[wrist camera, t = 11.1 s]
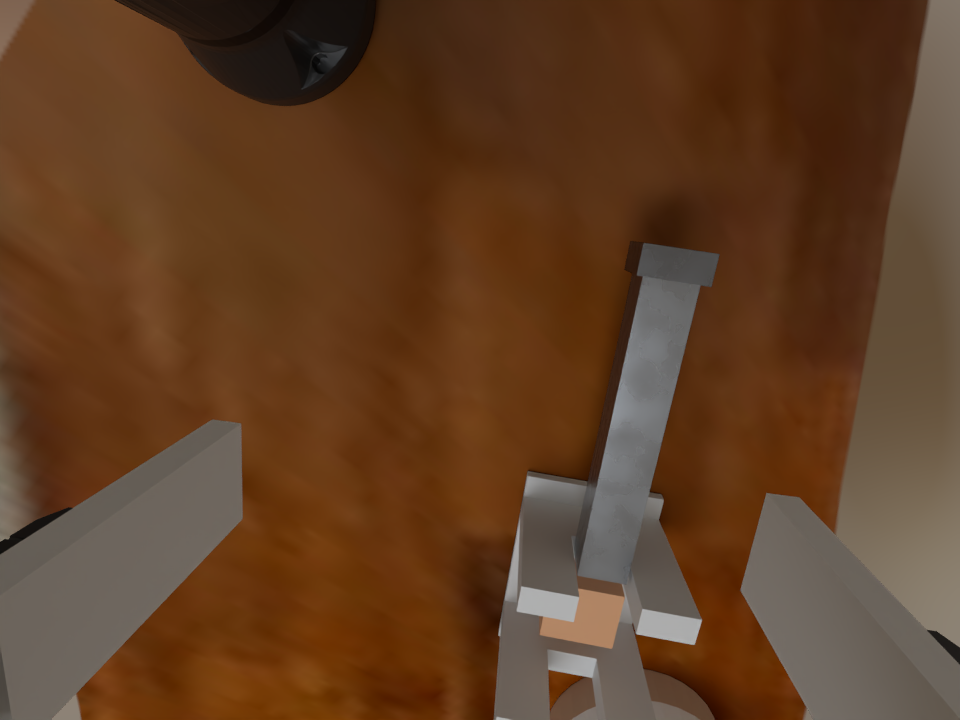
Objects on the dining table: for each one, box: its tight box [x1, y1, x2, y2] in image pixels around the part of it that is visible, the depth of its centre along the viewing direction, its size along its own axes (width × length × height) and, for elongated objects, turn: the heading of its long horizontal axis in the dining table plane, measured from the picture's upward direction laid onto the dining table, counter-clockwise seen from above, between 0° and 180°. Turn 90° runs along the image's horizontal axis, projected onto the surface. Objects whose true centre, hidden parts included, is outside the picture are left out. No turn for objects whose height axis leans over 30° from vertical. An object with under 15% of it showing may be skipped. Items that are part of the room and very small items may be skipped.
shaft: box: [574, 241, 719, 585], centre depth 38 cm, size 24×5×5 cm, turn 172°
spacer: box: [539, 559, 625, 649], centre depth 47 cm, size 6×6×5 cm
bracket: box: [494, 471, 702, 720], centre depth 44 cm, size 17×12×14 cm
